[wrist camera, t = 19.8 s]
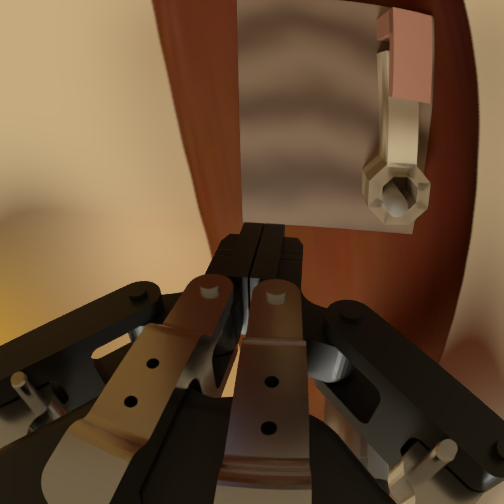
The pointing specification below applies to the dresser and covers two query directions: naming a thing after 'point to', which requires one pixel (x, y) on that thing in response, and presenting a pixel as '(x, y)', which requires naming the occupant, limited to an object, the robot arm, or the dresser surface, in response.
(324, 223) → the hinge base
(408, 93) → the keeper
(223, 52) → the dresser surface
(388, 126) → the birch link
